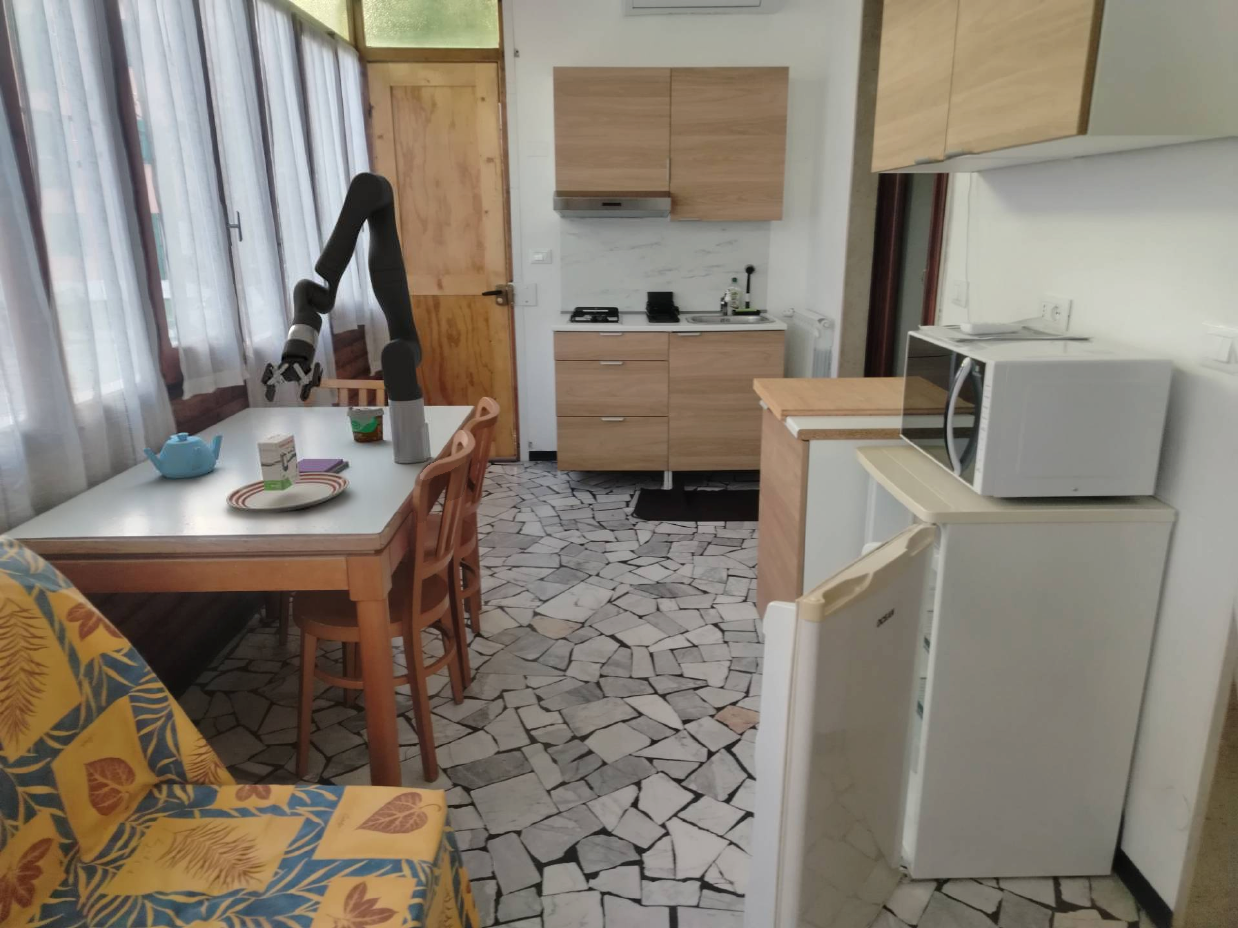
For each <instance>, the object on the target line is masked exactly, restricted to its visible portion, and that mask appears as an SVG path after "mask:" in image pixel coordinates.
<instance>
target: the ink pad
mask: <svg viewBox="0 0 1238 928" xmlns="http://www.w3.org/2000/svg"><path fill="white" fill-rule="evenodd" d="M297 462H298V470H299V473H317V472H319V473H334V474H338V473H340V472H341V471H343V470H344V469H346V468H348V467H349V463H350V462H349V460H344V459H343V458H303V459H301V460H300V461H299V460H298V461H297Z"/></svg>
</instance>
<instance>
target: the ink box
mask: <svg viewBox="0 0 1238 928" xmlns="http://www.w3.org/2000/svg"><path fill="white" fill-rule="evenodd" d="M257 449H258V456H259V462H260V467H261V473H262V474H261V475H262V480H263V481H264V487H265V491H273V490H285V489H287V488H288V487H290V486H292V485H293V484H295V483H296V482H298V481H300V477H299V470H298V462H299V461H298V458H297V450H296V449H297V448H296V443H295V436H294V434H279V433H277V434H272V435H270V436H269V437H266V438H264V439H262V440H260V441H258V443H257Z"/></svg>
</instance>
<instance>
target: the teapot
mask: <svg viewBox="0 0 1238 928" xmlns="http://www.w3.org/2000/svg"><path fill="white" fill-rule="evenodd" d="M222 441H223V434H215V435H214V437H213V439H212V442H211V444H210V446H209V445H208V444H207V443H206V442H205V441H204V440H203V439H202V438H201V437H200V436H194V435H192V436H191V435H190V436H189V433H188V432H180V433H177V434H174V435H169V439H168V440H167V441H165V443H164V444H163V447H162V449H161V451H160V452H159V456H157V455H156V454H155V453H154V452H153V451H152V450H151V448H150V447H146V448H142V451H143V452H144V454H145V455H146V457H147V459H149V461H150V462H151V464H152V465H153V466H154V468H155V469H156V470H157V471H158V472H159V473H161V475H163V476H164V477H165V478H167V479H188V478H189V479H190V478H195V477H200V476H203V475H206V474H209V473H210V472H212V471H213V470H214V468H215V466H216V465H217V460H219V457H220V451H221V448H222V447H221V446H222ZM208 472H209V473H208Z"/></svg>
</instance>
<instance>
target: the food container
mask: <svg viewBox="0 0 1238 928" xmlns="http://www.w3.org/2000/svg"><path fill="white" fill-rule="evenodd" d="M383 415H385V412H384V409H383V407H380V408H375V409H373V408H366V407H364V408H354V407H353V405H350V406H348V407H347V410H346V416H347V417H349V422H350V426H351V431H352V436H353V440H354V442H356V443H362V444H363V443H364V444H365V443H374V442H380V441H383V440H384V416H383Z"/></svg>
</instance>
